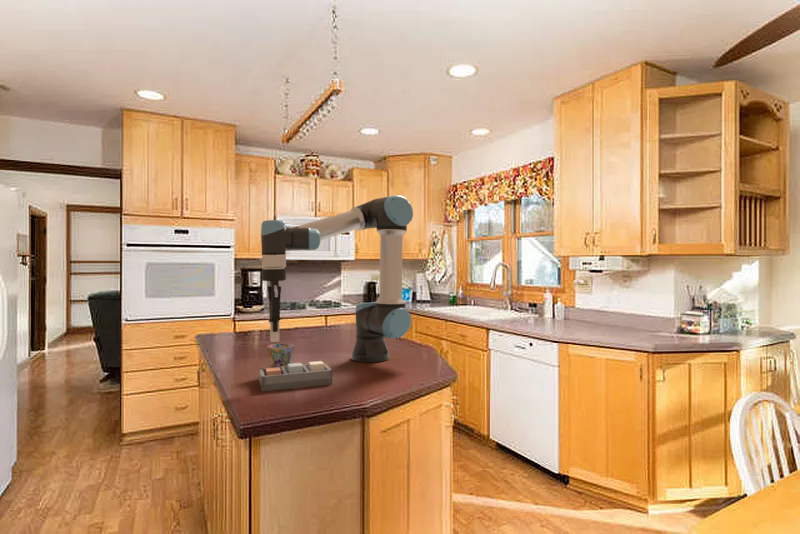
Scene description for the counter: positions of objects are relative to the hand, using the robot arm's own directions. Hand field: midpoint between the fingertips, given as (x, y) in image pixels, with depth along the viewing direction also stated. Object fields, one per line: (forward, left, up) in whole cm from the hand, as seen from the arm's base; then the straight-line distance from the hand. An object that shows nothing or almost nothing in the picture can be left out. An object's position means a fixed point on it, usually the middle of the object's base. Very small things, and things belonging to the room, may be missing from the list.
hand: (274, 341), depth 148 cm
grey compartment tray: (-6, 0, -14) cm, 16 cm away
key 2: (-13, 0, -11) cm, 17 cm away
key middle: (-6, 0, -11) cm, 12 cm away
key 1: (+1, 0, -12) cm, 11 cm away
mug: (-3, -12, -14) cm, 19 cm away
